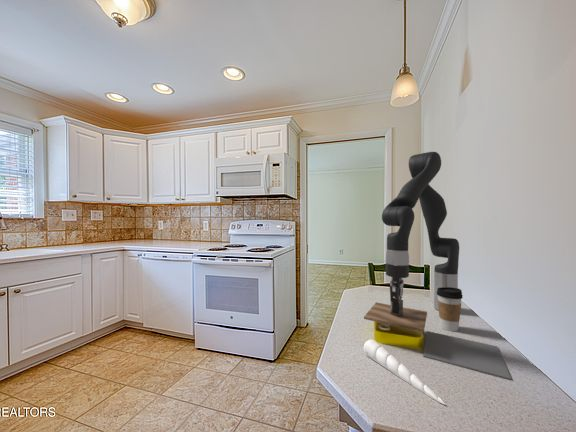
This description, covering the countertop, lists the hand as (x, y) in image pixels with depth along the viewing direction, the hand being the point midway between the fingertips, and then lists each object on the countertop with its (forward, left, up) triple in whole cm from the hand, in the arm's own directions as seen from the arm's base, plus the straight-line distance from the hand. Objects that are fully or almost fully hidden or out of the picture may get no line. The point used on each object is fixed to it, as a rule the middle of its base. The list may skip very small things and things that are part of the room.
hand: (396, 310), depth 88 cm
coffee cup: (-19, +16, -9) cm, 26 cm away
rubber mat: (0, +19, -9) cm, 21 cm away
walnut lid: (0, 0, -2) cm, 2 cm away
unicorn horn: (+23, +4, -9) cm, 25 cm away
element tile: (0, 0, -9) cm, 9 cm away
